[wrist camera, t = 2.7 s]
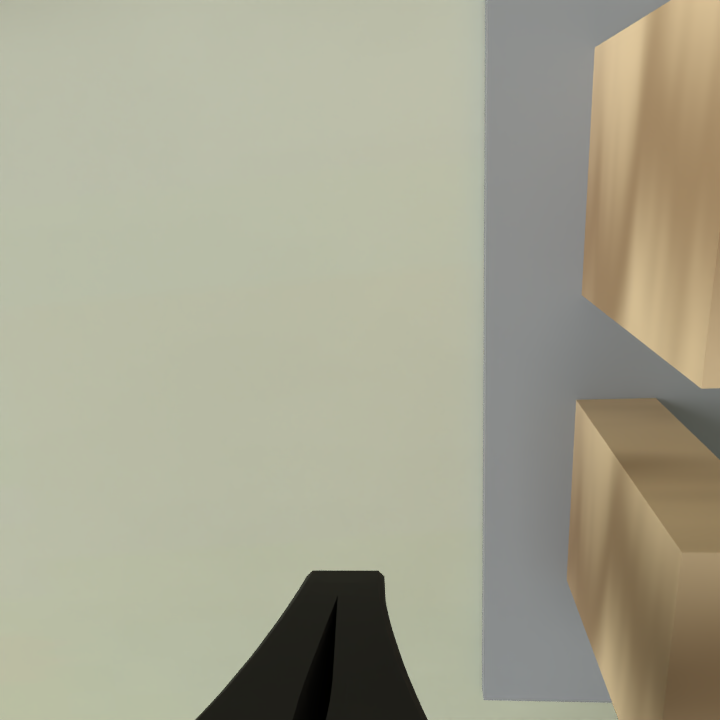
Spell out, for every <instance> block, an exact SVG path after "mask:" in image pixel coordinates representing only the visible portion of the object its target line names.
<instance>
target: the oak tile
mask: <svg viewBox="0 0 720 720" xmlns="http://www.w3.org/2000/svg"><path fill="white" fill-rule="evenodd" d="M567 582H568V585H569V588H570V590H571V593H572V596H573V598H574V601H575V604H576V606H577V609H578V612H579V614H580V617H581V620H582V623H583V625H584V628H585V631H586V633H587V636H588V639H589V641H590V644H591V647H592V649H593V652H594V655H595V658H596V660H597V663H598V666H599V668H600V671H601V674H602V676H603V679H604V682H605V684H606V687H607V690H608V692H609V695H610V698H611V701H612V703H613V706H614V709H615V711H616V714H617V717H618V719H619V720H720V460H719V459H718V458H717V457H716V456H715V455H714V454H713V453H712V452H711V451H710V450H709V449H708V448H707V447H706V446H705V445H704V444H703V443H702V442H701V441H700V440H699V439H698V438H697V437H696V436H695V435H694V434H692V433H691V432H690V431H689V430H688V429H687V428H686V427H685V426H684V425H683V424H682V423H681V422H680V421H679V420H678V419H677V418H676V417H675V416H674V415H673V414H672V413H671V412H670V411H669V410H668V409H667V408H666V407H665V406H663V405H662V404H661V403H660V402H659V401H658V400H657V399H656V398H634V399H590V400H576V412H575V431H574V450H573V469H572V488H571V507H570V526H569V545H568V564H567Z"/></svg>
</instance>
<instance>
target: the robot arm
mask: <svg viewBox="0 0 720 720" xmlns="http://www.w3.org/2000/svg"><path fill="white" fill-rule="evenodd" d="M196 720H427V717H426V715H425V713H424V711H423V709H422V707H421V705H420V702H419V700H418V698H417V696H416V693H415V691H414V688H413V686H412V684H411V681H410V679H409V677H408V674H407V671H406V669H405V666H404V664H403V661H402V658H401V655H400V652H399V649H398V646H397V643H396V640H395V637H394V634H393V631H392V627H391V624H390V620H389V615H388V611H387V607H386V601H385V582H384V576H383V575H382V574H381V573H380V572H379V571H312V572H311V573H310V574H309V575H308V576H307V577H306V579H305V580H304V582H303V584H302V585H301V587H300V589H299V590H298V592H297V593H296V595H295V596H294V598H293V599H292V601H291V602H290V604H289V605H288V607H287V608H286V610H285V611H284V613H283V614H282V616H281V617H280V618H279V620H278V621H277V623H276V624H275V625H274V627H273V628H272V629H271V631H270V632H269V633H268V635H267V636H266V637H265V639H264V640H263V642H262V643H261V644H260V646H259V647H258V648H257V650H256V651H255V652H254V653H253V655H252V656H251V657H250V658H249V660H248V661H247V662H246V663H245V664H244V666H243V667H242V668H241V669H240V670H239V672H238V673H237V674H236V675H235V676H234V678H233V679H232V680H231V681H230V682H229V684H228V685H227V686H226V687H225V688H224V689H223V691H222V692H221V693H220V694H219V695H218V696H217V697H216V698H215V699H214V701H213V702H212V703H211V704H210V705H209V706H208V707H207V708H206V709H205V710H204V711H203V712H202V713H201V714H200V715H199V716H198V717H197V719H196Z"/></svg>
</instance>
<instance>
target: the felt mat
mask: <svg viewBox="0 0 720 720" xmlns="http://www.w3.org/2000/svg"><path fill="white" fill-rule="evenodd" d="M669 1H670V0H486V15H485V220H484V425H483V630H482V691H483V698H484V700H512V701H561V702H609V703H612V701H611V698H610V695H609V692H608V690H607V687H606V684H605V682H604V679H603V676H602V674H601V671H600V668H599V666H598V663H597V660H596V658H595V655H594V652H593V649H592V647H591V644H590V641H589V639H588V636H587V633H586V631H585V628H584V625H583V623H582V620H581V617H580V614H579V612H578V609H577V606H576V604H575V601H574V598H573V596H572V593H571V590H570V588H569V585H568V582H567V564H568V545H569V526H570V507H571V488H572V469H573V450H574V431H575V412H576V400H590V399H634V398H656V399H657V400H658V401H659V402H660V403H661V404H662V405H663V406H665V407H666V408H667V409H668V410H669V411H670V412H671V413H672V414H673V415H674V416H675V417H676V418H677V419H678V420H679V421H680V422H681V423H682V424H683V425H684V426H685V427H686V428H687V429H688V430H689V431H690V432H691V433H692V434H694V435H695V436H696V437H697V438H698V439H699V440H700V441H701V442H702V443H703V444H704V445H705V446H706V447H707V448H708V449H709V450H710V451H711V452H712V453H713V454H714V455H715V456H716V457H717V458H718V459H719V460H720V388H707V389H701V388H700V387H698V386H697V385H696V384H695V383H693V382H692V381H691V380H690V379H688V378H687V377H686V376H684V375H683V374H682V373H681V372H679V371H678V370H677V369H675V368H674V367H673V366H672V365H670V364H669V363H668V362H667V361H665V360H664V359H663V358H661V357H660V356H659V355H658V354H656V353H655V352H654V351H652V350H651V349H650V348H649V347H647V346H646V345H645V344H644V343H642V342H641V341H640V340H638V339H637V338H636V337H635V336H633V335H632V334H631V333H629V332H628V331H627V330H626V329H624V328H623V327H622V326H621V325H619V324H618V323H617V322H615V321H614V320H613V319H612V318H610V317H609V316H608V315H606V314H605V313H604V312H603V311H601V310H600V309H599V308H597V307H596V306H595V305H594V304H592V303H591V302H590V301H589V300H587V299H586V298H585V297H583V296H582V279H583V260H584V241H585V223H586V204H587V185H588V166H589V147H590V128H591V109H592V90H593V71H594V52H595V47H596V46H598V45H600V44H601V43H603V42H604V41H606V40H608V39H609V38H611V37H613V36H614V35H616V34H617V33H619V32H621V31H622V30H624V29H625V28H627V27H629V26H630V25H632V24H633V23H635V22H637V21H638V20H640V19H641V18H643V17H645V16H646V15H648V14H650V13H651V12H653V11H654V10H656V9H658V8H659V7H661V6H662V5H664V4H666V3H667V2H669Z"/></svg>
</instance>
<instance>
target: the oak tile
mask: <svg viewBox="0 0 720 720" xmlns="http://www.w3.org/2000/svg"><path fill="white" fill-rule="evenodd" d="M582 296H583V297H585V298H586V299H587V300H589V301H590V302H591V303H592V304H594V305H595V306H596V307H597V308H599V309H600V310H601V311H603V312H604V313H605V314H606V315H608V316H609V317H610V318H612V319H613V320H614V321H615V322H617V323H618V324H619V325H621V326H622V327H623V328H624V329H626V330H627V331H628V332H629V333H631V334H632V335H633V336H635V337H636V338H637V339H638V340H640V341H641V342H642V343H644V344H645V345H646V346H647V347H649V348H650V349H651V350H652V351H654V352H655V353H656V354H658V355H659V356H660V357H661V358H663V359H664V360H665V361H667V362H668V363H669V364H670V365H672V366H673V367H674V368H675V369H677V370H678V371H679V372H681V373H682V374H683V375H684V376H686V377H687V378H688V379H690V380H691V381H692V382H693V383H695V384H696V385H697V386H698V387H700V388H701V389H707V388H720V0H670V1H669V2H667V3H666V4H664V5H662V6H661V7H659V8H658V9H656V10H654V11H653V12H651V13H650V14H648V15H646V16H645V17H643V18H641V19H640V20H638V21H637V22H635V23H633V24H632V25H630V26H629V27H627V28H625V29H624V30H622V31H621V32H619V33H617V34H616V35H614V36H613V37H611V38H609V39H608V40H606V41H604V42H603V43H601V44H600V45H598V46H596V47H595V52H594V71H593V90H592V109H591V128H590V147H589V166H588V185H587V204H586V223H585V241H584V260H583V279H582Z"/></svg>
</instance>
